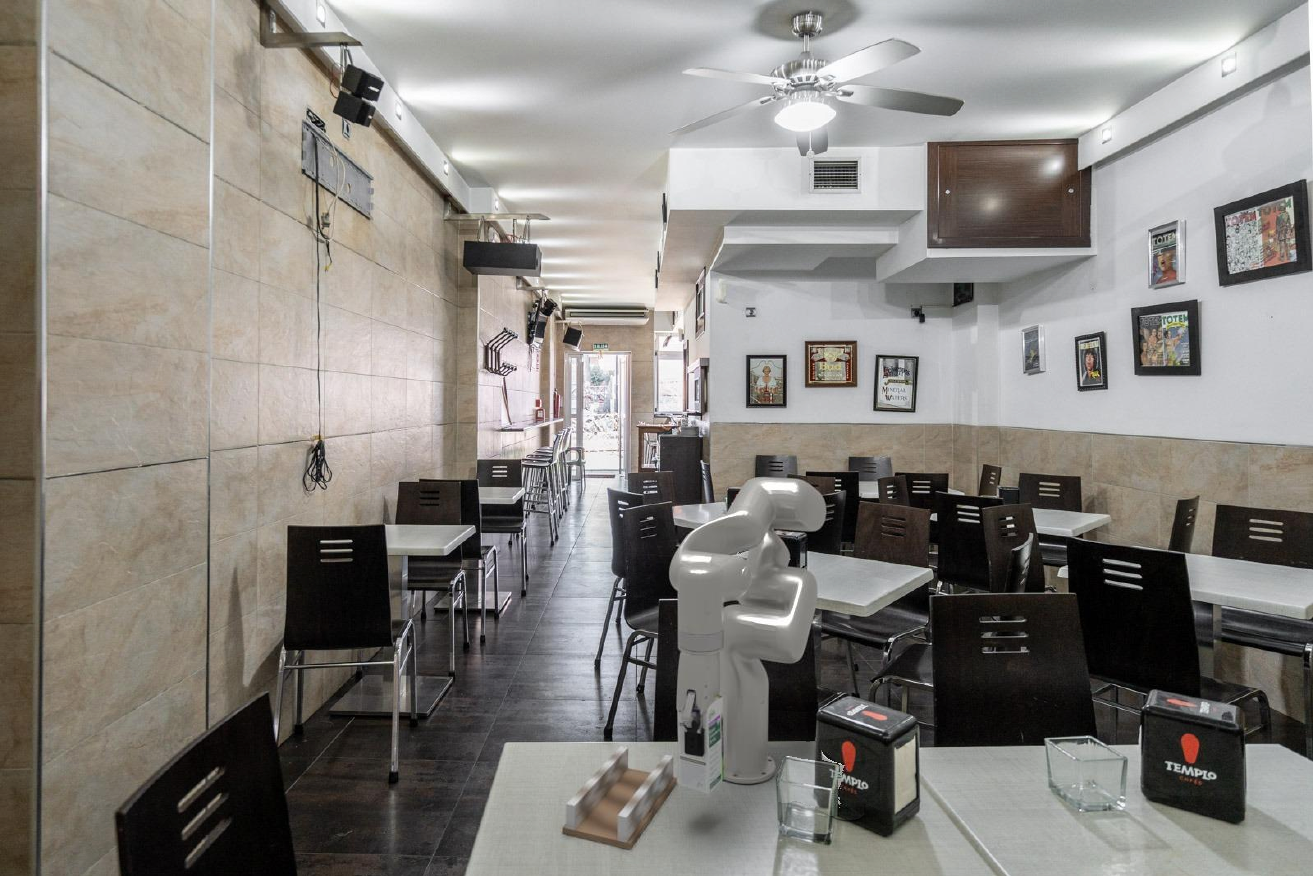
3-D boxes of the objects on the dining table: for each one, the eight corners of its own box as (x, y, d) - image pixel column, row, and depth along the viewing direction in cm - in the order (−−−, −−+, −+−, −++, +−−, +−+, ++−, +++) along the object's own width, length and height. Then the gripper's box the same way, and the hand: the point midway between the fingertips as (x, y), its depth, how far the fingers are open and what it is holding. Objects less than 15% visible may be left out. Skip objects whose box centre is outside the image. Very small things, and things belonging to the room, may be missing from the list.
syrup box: (708, 796, 116) (708, 708, 115) (677, 785, 119) (676, 700, 118) (724, 779, 121) (724, 695, 120) (693, 770, 124) (693, 688, 123)
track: (617, 771, 137) (617, 745, 137) (676, 783, 133) (676, 756, 133) (562, 833, 117) (562, 803, 117) (630, 849, 112) (630, 818, 112)
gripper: (695, 620, 128) (695, 719, 129) (660, 653, 111) (661, 766, 113) (736, 625, 125) (736, 725, 126) (707, 659, 109) (707, 774, 110)
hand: (700, 743), depth 119 cm, fingers closed on syrup box, 6 cm apart
